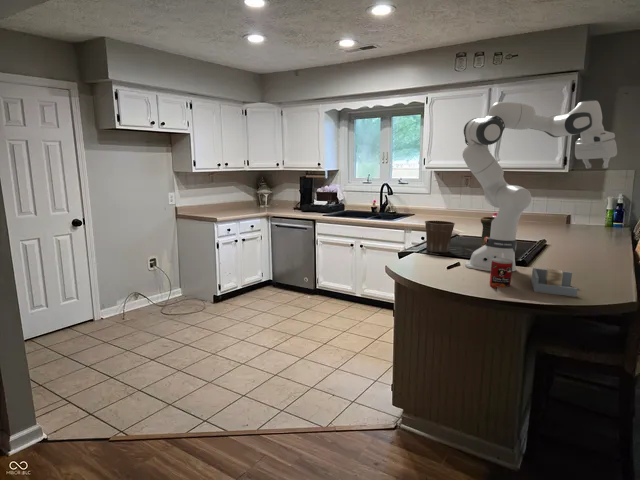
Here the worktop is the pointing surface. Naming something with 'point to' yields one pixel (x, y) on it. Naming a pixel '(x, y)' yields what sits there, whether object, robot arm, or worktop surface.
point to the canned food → (501, 272)
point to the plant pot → (438, 235)
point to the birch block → (554, 277)
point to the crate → (540, 285)
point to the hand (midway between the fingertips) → (596, 168)
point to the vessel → (486, 227)
